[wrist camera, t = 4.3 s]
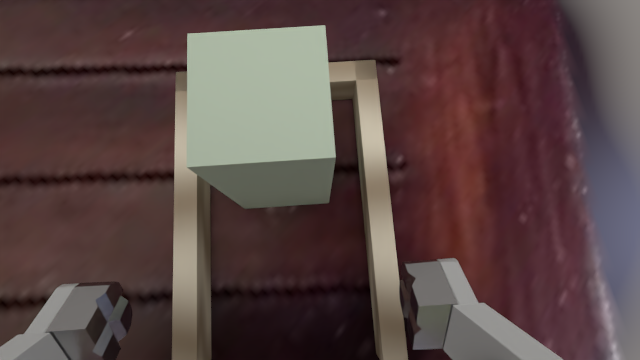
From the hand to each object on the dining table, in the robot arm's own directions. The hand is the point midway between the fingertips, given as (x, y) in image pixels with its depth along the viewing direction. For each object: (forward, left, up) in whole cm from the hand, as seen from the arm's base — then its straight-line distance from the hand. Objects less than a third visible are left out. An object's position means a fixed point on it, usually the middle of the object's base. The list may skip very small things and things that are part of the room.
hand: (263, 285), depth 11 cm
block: (-5, +4, -11) cm, 13 cm away
